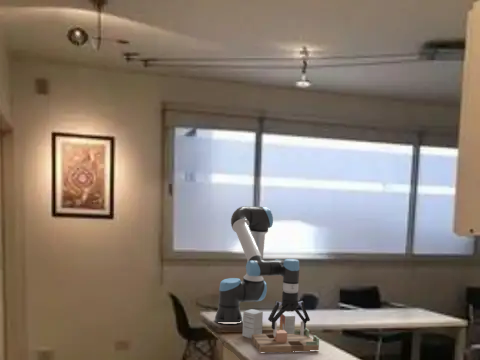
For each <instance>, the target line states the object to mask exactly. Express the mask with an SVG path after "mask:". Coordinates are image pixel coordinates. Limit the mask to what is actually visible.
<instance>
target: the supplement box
mask: <svg viewBox="0 0 480 360" xmlns="http://www.w3.org/2000/svg"><path fill="white" fill-rule="evenodd" d="M263 315H264V313H263V311H262V310H258V309H254V308H250V309H247V310H244V311H243V314H242V337H245V338H248V339H251V340H252V335H253V334H263V319H264V318H263Z"/></svg>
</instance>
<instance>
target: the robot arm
mask: <svg viewBox="0 0 480 360" xmlns="http://www.w3.org/2000/svg"><path fill="white" fill-rule="evenodd" d="M273 223H274V217H273V213H272V211H271V209H270V208H269V207H266V206H247V205H245V206H244V205H243V206H240V207H238V208H236V209H235V210H234V212H233V213H232V215H231V218H230V224H231V225H230V226H231V228H232V230H233V232H234V233H235V234H236V235H237V238H238V241H239V243H240V246H241V247H242V250H243V253H244V255H245V258H246V260H247V262H246V265H245V270H246V271H245V272H246V274H245V275H243V278H242V280H241V279H240V278H238V277H229V278H224V279H223V280H221V281H220V283H219V288H218V291H219V292H218V293H219V295H218V308H217V311H216V313H215V317H214V322H215V321H216V322H215V323H217V322H240V321H242V322H243V315H242V312H241V309H240V304H241V303H255V302H256V303H257V302H261V301H263V300H264V299H265V298H266V297H267V291H268V287H267V286H268V285H267V282H266V281H265V280H264V279H265V278H264V277H272V276H273V277H278V276H279V277H282V296H281V297H282V298H281V299H282V300H281V301H277V300H275V303H274V304H275V305H274V306H273V308H272V311H271V312H270V314H269V316H268V321H269V322H271V330H273V332H272V334H273V335H274V337H276V332H277V330H278V323H277V321H278V319H279V320H280V316H281V315H282V314H283V313H284V312H294V311H295V313H296V314H297V315H298V317H299V318H300V319H301V321H300V330H299V331H300V335H301V336H304V329H305V328H307V323H308V322H310V321H311V319H310V317H309V315H308V311H307V310H306V307H305V302H304V301H303V300H300V301H299V283H300V282H299V281H300V260H299V259H298V258H297V259H296V258H285V259H279V258H276V259H273V260H270V259H269V260H268V259H267V260H265V259H264V248H265V239H266V238H265V237H266V234H267V233H268V232H269V229H270V228H272V226H273ZM298 306H299V307H300V308H301V311H302V312H303V313H301V312H300V310H299V309H298ZM280 307H281V308H280ZM279 308H280V309H279ZM278 309H279V311H278ZM303 315H304V316H303Z"/></svg>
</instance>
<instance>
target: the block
mask: <svg viewBox="0 0 480 360" xmlns="http://www.w3.org/2000/svg"><path fill="white" fill-rule="evenodd" d="M274 339H275V340H276V341H277V342H287V332H286V331H285V330H279V329H277V332H276V337H274Z"/></svg>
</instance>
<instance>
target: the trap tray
mask: <svg viewBox="0 0 480 360" xmlns="http://www.w3.org/2000/svg"><path fill="white" fill-rule="evenodd" d="M251 342H252V344H253V345H254V346H255V348H256V349H257V350H258V351H259V353H260V352H285V353H296V352H295V351H310V350H319V349H320V338H319V337H318V336H317V335H316V334H315V335H314V334H313V336H312V338H311V337H310V329H308V328H307V327H306V328H305V329H304V336H301V335H300V330H294V334H287V342H277V341H276V340H275V339H274V335H273V333H267V334H266V333H262V334H253V335H252V339H251ZM293 351H294V352H293Z"/></svg>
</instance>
